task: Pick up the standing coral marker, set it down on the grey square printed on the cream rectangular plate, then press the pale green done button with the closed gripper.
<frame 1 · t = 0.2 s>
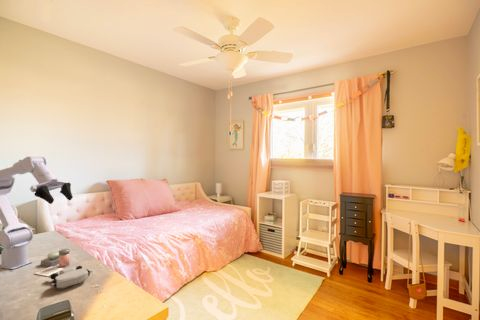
hand: (61, 200, 97), 30 cm above the table, tool tilted 45°, fingers open, 7 cm apart
cream rectangular plate: (49, 271, 98), on the table
marker: (64, 265, 103), on the table
button housing: (54, 262, 106), on the table
robot toy: (70, 282, 89), on the table
done button: (54, 256, 106), point 3 cm above the table, slide at 0.0 cm
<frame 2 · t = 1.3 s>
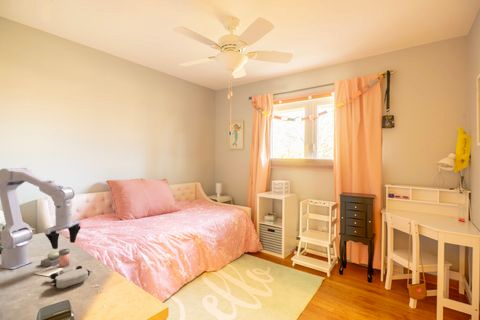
hand: (64, 245, 103), 9 cm above the table, tool pointing down, fingers open, 7 cm apart
nothing on the table moved.
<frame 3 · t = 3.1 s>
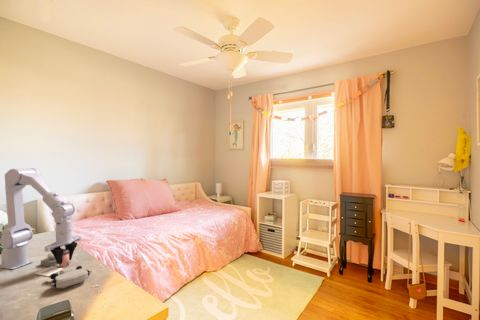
hand: (64, 261, 103), 2 cm above the table, tool pointing down, fingers closed on marker, 4 cm apart
marker: (64, 265, 103), on the table, touching gripper
everything else where it was.
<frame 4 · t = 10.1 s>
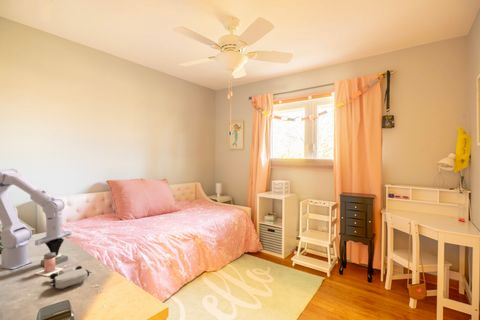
hand: (54, 255, 106), 3 cm above the table, tool pointing down, fingers closed, pressing on done button
marker: (49, 270, 98), resting on cream rectangular plate
done button: (54, 258, 106), point 2 cm above the table, slide at 0.7 cm, touching gripper
everything else where it was.
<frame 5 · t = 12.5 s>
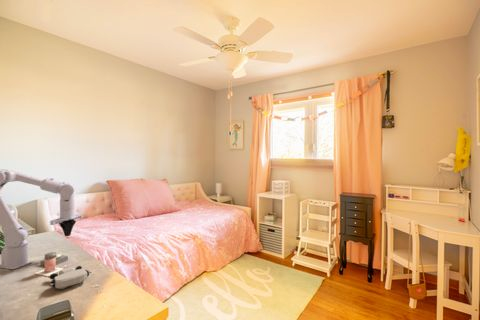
hand: (67, 235, 114), 10 cm above the table, tool pointing down, fingers closed
done button: (54, 258, 106), point 2 cm above the table, slide at 0.7 cm
everything else where it was.
at the end: marker inside the target area on the cream rectangular plate (0.0 cm from its centre), point 0.5 cm above the cream rectangular plate's base; marker tilted 3°; done button slide at 0.7 cm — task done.
